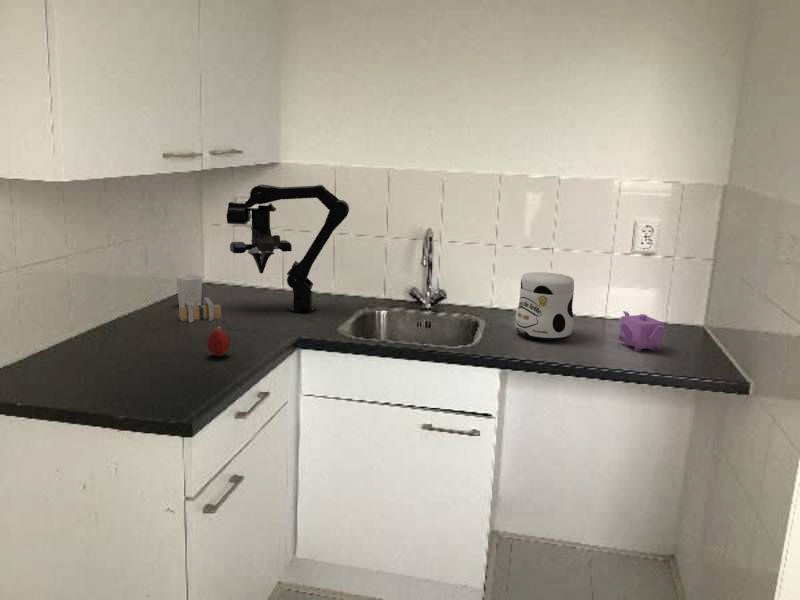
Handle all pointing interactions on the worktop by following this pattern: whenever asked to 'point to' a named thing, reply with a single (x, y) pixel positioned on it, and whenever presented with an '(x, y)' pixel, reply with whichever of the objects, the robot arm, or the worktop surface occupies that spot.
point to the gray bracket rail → (190, 306)
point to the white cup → (189, 288)
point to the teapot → (641, 332)
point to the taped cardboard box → (200, 312)
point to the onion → (218, 342)
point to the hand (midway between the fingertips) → (261, 273)
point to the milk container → (545, 306)
